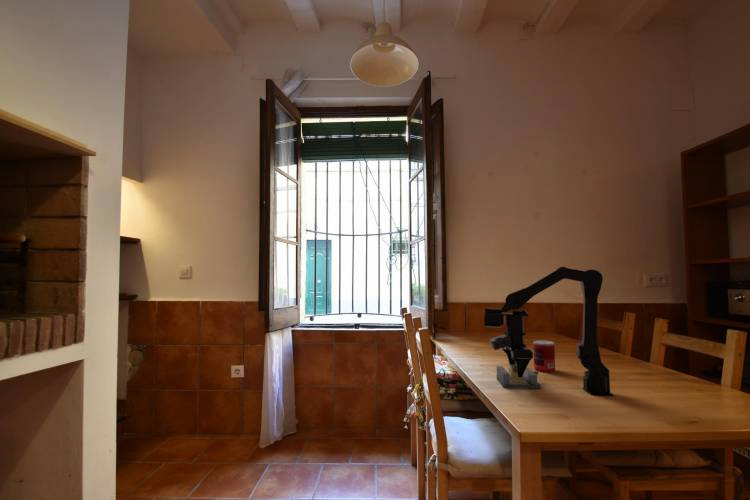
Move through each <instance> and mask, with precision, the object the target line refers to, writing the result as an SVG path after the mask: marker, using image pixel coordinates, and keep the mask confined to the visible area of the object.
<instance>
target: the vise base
mask: <svg viewBox="0 0 750 500" xmlns="http://www.w3.org/2000/svg"><path fill="white" fill-rule="evenodd" d="M496 380H497V381H498V383H499V384H500V385H501V386H502V388H504V389H505V388H506V389H535V390H536V389H538V390H539V389H540V390H541V384H540V383H539V382H538V381H537V384H531V383H530V382H529V381H527V380H526V379H525V378H524V382H512V381H511V380H510V376H509V371H507V370H506V369H505V368H504V366H501V365H500V366H499V365H498V366H497V365H496Z"/></svg>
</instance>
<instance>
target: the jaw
mask: <svg viewBox="0 0 750 500" xmlns="http://www.w3.org/2000/svg"><path fill="white" fill-rule="evenodd" d="M538 375H539V371H537V370H535V371H533V370H532V369H530V368H529V367H528V366H527V367H526V369H525V372H524V378H525V379H526V380H527V381H529V382H530V383H531V384H537V382H538Z"/></svg>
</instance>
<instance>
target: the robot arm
mask: <svg viewBox="0 0 750 500" xmlns="http://www.w3.org/2000/svg"><path fill="white" fill-rule="evenodd" d="M564 279H566V280H571V281H576V282H580V283H579V284H580V289H581V291H582V295H583V301H582V302H583V304H582V305H583V308H582V314H583V316H582V338H581V342H575V345H576V353H575V355H576V357H577V359H578V360H579V362H580V363H581V365H582V367H583V368H585V369H586V371H584V375H583V376H582V380H583V381H582V383H583V385H582V386H583V387H582V389H583V390H585V391H586V392H587V393H588V394H590V395H592V396H614V394H613V393H612V392H611V383H610V381H611V380H610V373H611V372H610V370H609V368H608V367H607V366H606V365H605V363H603V362H602V358H601V354H600V352H601V351H600V349H599V345H598V341H597V339H598V298H599V294H600V293H601V289H602V284H603V280H604V279H603V275H602V273H601V272H600V271H598V270H596V269H585V270H581V269H580V270H579V269H573V268H568V267H566V266H559V267H558V268H556V270H554V271H552V272H550V273H549V274H547V275H545V276H543V277H542V278H540V279H539V280H537V281H535V282H533V283H531V284H530V285H528V286H526V287H523V288H521V289H518V290H516V291H511V292H510V293H508V295H506V297H505V300H504V302H505V303H504V305H502V306H501V308H491V307H485V308H484V317H483V323H484V327H485V328H502V326H504V325H506V327H505V328H506V329H505V330H504V331H503V333H504V334H501V335H498V336H495V337H493V338H490V339H489V342H490V344H491V348H492V349H493V350H495V351H497V350H500V349H501V350H502V351H503V352H504V353H505V355H506V357H507V361H508V365H509V364H516V368H517V373H518V377H522V376H523V374H524V372H525V369H526V367H528V366H529V363H530V362H531V360H532V359H534V351H532V350H531V349H530V348H528V347H527V346H526V345H527V344H526V343H525V336H527V335H526V332H525V330H524V328H525V327H524V317H530V314H529V313H528V312H527V311H526V309H525V308H523V309H522V310H519V309H521V308H522V307H523V306H524V305H525V304H526V303H527V302H528V301H530V300H531V299H532V298H534V296H535V297H536V295H538V294H540V293H542V292H543V291H545V290H547V289H548V288H550V287H552V286H554V285H555V284H556V283H559V282H561V281H562V280H564ZM511 310H512V312H511V313H510V311H511ZM505 321H506V322H505ZM505 323H506V324H505Z"/></svg>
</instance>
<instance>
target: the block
mask: <svg viewBox="0 0 750 500" xmlns="http://www.w3.org/2000/svg"><path fill="white" fill-rule="evenodd" d="M508 373H509V376H510V380H511V381H512V382H524V374H523V376H522V377H518V373H517V368H516V364H509V363H508Z"/></svg>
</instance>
